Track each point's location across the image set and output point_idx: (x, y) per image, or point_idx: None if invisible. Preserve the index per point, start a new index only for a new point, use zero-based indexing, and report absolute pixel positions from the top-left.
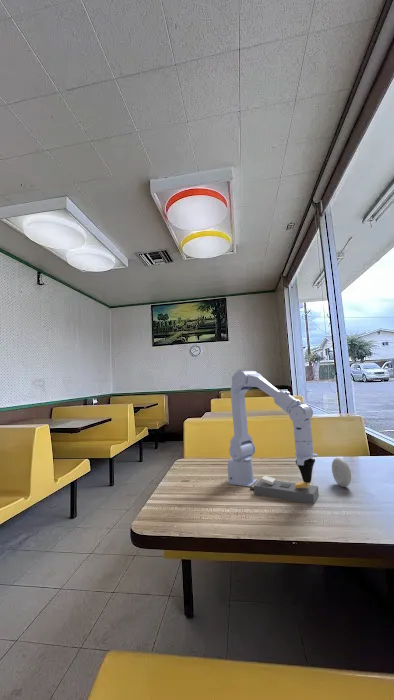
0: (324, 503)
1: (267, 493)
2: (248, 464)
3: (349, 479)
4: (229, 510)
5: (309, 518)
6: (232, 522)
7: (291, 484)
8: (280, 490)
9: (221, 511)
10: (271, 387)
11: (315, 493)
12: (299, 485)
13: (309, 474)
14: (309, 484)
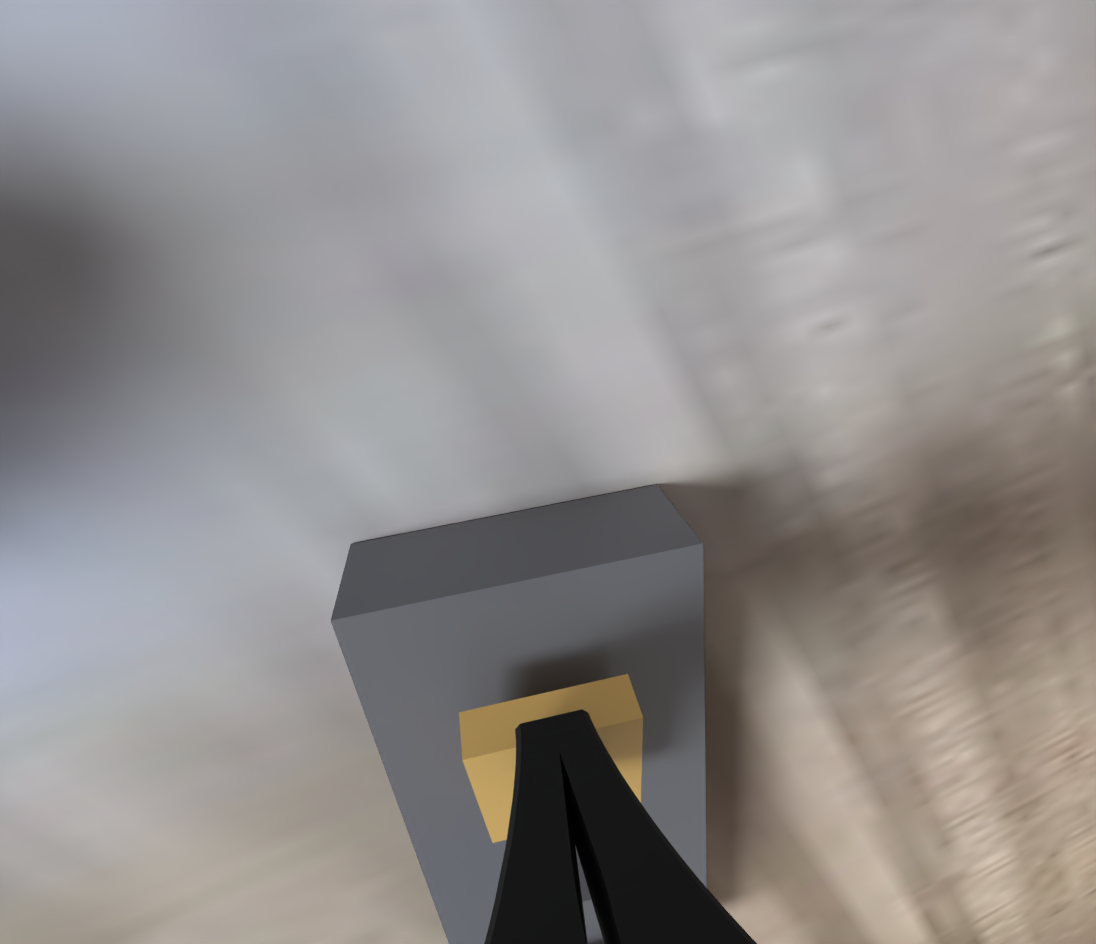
0: (571, 398)
1: None
2: None
3: None
4: (991, 853)
5: (1010, 392)
6: None
7: (488, 851)
8: (703, 832)
9: (1014, 870)
10: None
11: (551, 553)
12: (637, 767)
13: (657, 846)
14: (496, 705)
